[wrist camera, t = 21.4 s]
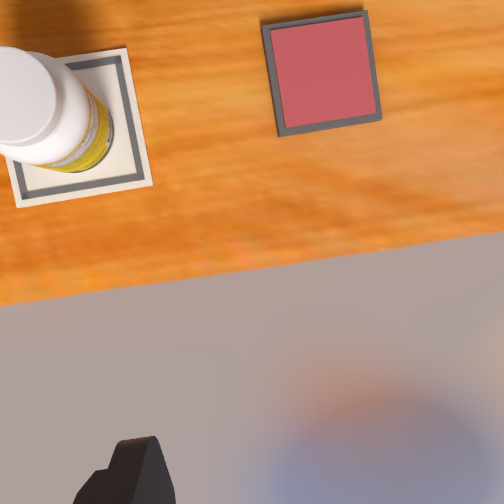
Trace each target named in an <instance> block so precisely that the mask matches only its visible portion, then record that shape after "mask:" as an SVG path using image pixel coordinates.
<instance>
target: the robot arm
mask: <svg viewBox="0 0 504 504" xmlns="http://www.w3.org/2000/svg"><path fill="white" fill-rule="evenodd" d="M73 504H176V500H175V492H174V487H173V484H172V481H171V478H170V475H169V472H168V469H167V466H166V463H165V460H164V456H163V453H162V450H161V447H160V444H159V442H158V439H157V438H156V437H155V436H149V437H143V438H136V439H129V440H122V441H120V442H118V444H117V445H116V447H115V450H114V453H113V456H112V458H111V461H110V464H109V467H108V469H104V470H98V471H95V472H94V473H93V474H92V476H91V477H90V478H89V479H88V481H87V482H86V483H85V484H84V485H83V487H82V488H81V489H80V490H79V492H78V493H77V495H76V497H75V500H74V502H73Z"/></svg>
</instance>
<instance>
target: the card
mask: <svg viewBox="0 0 504 504" xmlns="http://www.w3.org/2000/svg"><path fill="white" fill-rule="evenodd" d="M55 59H57V60H58V61H60V62H62V63H63V64H65V65H66V66H67V67H68V68H70V69H71V70H72V71H73V72H74V73H75V74H76V75H77V76H78V77H79V78H80V79H81V80H82V81H83V82H84V83H85V84H86V85H87V86H88V87H89V88H90V89H91V90H92V91H93V92H94V93H95V94H96V95H97V96H98V97H99V98H100V99H101V100H102V101H103V103H104V104H105V105H106V106H107V108H108V109H109V111H110V113H111V116H112V118H113V122H114V127H115V138H114V143H113V147H112V149H111V151H110V153H109V154H108V156H107V157H106V159H105V160H104V161H103V162H102V163H101V164H99V165H98V166H96V167H95V168H93V169H91V170H88V171H85V172H81V173H64V172H59V171H54V170H49V169H45V168H41V167H36V166H32V165H28V164H24V163H20V162H17V161H14V160H12V159H10V158H8V157H6V156H5V158H6V162H7V166H8V171H9V175H10V179H11V184H12V188H13V193H14V197H15V201H16V206H17V208H22V207H28V206H34V205H40V204H45V203H51V202H57V201H63V200H69V199H75V198H81V197H87V196H93V195H99V194H105V193H111V192H117V191H123V190H128V189H134V188H140V187H146V186H152V185H153V180H152V175H151V170H150V165H149V160H148V155H147V149H146V144H145V139H144V134H143V129H142V124H141V119H140V113H139V108H138V103H137V98H136V93H135V88H134V83H133V77H132V72H131V67H130V62H129V57H128V52H127V48H122V49H115V50H108V51H102V52H95V53H88V54H81V55H74V56H67V57H60V58H55Z"/></svg>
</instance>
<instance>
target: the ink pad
mask: <svg viewBox="0 0 504 504" xmlns="http://www.w3.org/2000/svg"><path fill="white" fill-rule="evenodd" d="M261 34H262V40H263V46H264V52H265V58H266V64H267V70H268V77H269V83H270V89H271V95H272V101H273V107H274V113H275V119H276V126H277V132H278V137H284V136H290V135H296V134H302V133H308V132H314V131H320V130H327V129H333V128H339V127H345V126H351V125H357V124H363V123H369V122H375V121H380V120H381V119H382V111H381V104H380V97H379V90H378V82H377V75H376V68H375V61H374V53H373V46H372V39H371V32H370V24H369V17H368V10H365V11H358V12H351V13H344V14H337V15H330V16H323V17H317V18H310V19H303V20H296V21H289V22H282V23H275V24H269V25H262V27H261Z"/></svg>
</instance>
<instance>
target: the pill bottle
mask: <svg viewBox="0 0 504 504" xmlns="http://www.w3.org/2000/svg"><path fill="white" fill-rule="evenodd" d="M114 138H115V127H114V122H113V118H112V116H111V113H110V111H109V109H108V108H107V106H106V105H105V104H104V103H103V101H102V100H101V99H100V98H99V97H98V96H97V95H96V94H95V93H94V92H93V91H92V90H91V89H90V88H89V87H88V86H87V85H86V84H85V83H84V82H83V81H82V80H81V79H80V78H79V77H78V76H77V75H76V74H75V73H74V72H73V71H72V70H71V69H70V68H68V67H67V66H66V65H65V64H63V63H62V62H60V61H58V60H57V59H55V58H53V57H51V56H48V55H45V54H42V53H38V52H32V51H24V50H22V49H18V48H15V47H9V46H0V154H2V155H4V156H6V157H8V158H10V159H12V160H14V161H17V162H20V163H24V164H28V165H32V166H36V167H41V168H45V169H49V170H54V171H59V172H64V173H81V172H85V171H88V170H91V169H93V168H95V167H96V166H98V165H99V164H101V163H102V162H103V161H104V160H105V159H106V157H107V156H108V154H109V153H110V151H111V149H112V147H113V143H114Z"/></svg>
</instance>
